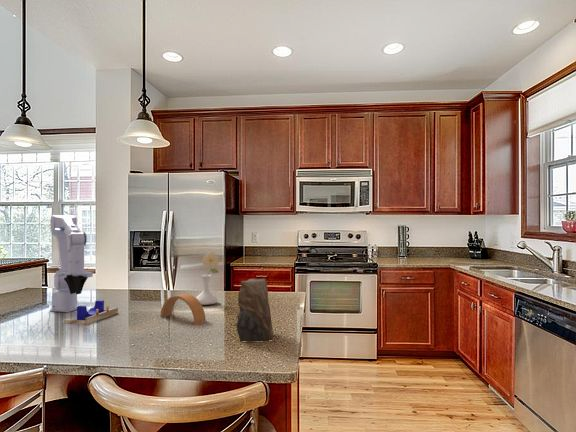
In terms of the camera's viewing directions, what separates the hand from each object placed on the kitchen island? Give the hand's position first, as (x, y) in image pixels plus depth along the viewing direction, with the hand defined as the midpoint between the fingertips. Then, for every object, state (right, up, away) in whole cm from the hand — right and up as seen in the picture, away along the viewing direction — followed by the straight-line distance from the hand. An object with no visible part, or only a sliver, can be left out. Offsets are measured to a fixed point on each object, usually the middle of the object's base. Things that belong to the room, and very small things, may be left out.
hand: (75, 293), depth 151 cm
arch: (+45, -10, -2) cm, 47 cm away
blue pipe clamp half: (+6, -10, -1) cm, 12 cm away
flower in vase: (+50, -10, +24) cm, 56 cm away
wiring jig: (+9, -10, -2) cm, 13 cm away
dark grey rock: (+78, -10, -25) cm, 82 cm away
